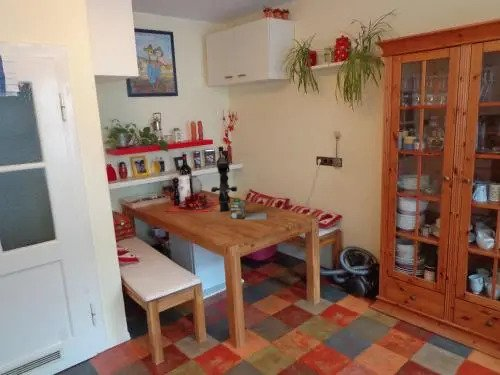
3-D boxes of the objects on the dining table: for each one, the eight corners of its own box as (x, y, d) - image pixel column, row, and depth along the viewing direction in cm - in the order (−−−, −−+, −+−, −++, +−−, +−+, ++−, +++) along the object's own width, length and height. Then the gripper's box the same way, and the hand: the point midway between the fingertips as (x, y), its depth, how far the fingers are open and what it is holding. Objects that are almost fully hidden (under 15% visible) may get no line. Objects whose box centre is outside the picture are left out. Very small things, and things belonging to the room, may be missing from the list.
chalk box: (246, 215, 278) (244, 196, 275) (242, 218, 269) (240, 199, 266) (234, 215, 281) (233, 196, 278) (230, 218, 272) (228, 199, 269)
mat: (244, 220, 267) (244, 219, 267) (245, 214, 282) (245, 213, 282) (266, 219, 266) (266, 219, 266) (266, 213, 281) (266, 213, 281)
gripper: (209, 182, 262) (210, 203, 266) (235, 181, 261) (236, 202, 264) (211, 179, 273) (213, 199, 277) (236, 178, 272) (237, 199, 275)
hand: (224, 200), depth 273 cm, fingers closed
